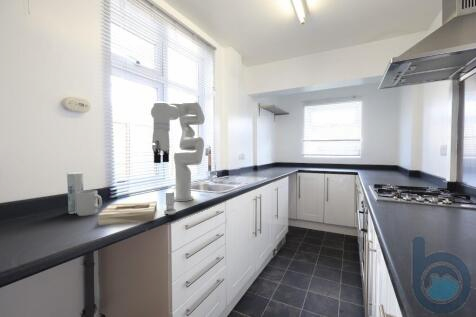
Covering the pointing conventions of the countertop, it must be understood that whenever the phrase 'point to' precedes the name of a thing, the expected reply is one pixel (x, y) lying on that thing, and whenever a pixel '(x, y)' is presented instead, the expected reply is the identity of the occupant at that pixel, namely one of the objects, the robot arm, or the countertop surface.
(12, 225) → the countertop surface
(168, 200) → the peg
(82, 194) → the mug
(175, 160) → the robot arm
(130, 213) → the keyhole plate
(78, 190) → the tall grey container
